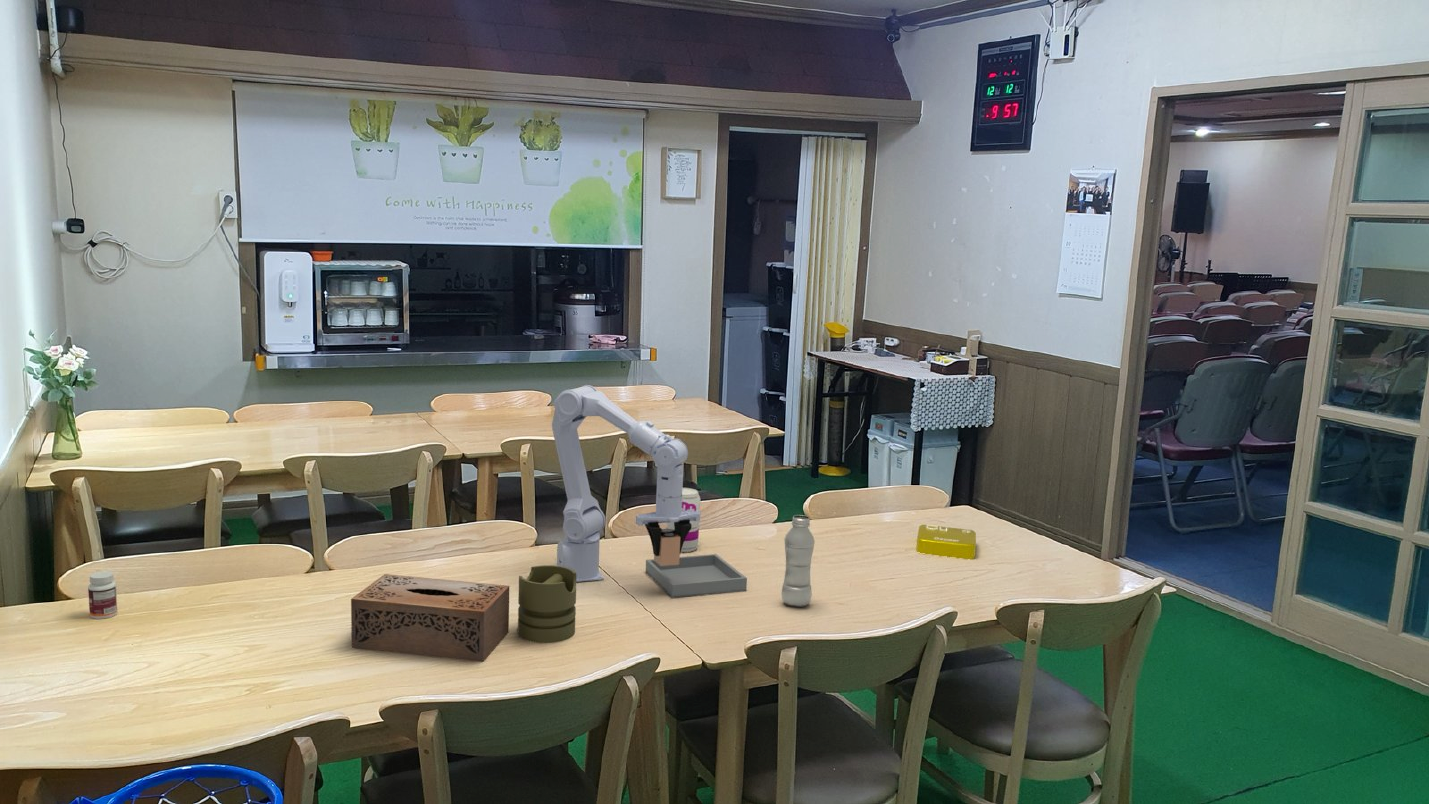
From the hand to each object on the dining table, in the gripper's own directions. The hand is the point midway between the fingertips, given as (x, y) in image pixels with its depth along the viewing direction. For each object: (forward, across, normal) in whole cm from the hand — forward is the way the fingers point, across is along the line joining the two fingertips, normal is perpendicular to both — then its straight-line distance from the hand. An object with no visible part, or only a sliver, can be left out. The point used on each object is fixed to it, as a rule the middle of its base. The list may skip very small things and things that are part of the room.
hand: (666, 553), depth 234 cm
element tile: (+10, +84, +12) cm, 85 cm away
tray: (+9, +9, +5) cm, 14 cm away
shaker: (+2, 0, 0) cm, 2 cm away
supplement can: (+9, +15, +29) cm, 34 cm away
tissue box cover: (+9, -53, -14) cm, 55 cm away
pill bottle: (+9, -112, +16) cm, 113 cm away
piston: (+9, -31, -15) cm, 36 cm away
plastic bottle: (+9, +25, -15) cm, 31 cm away
